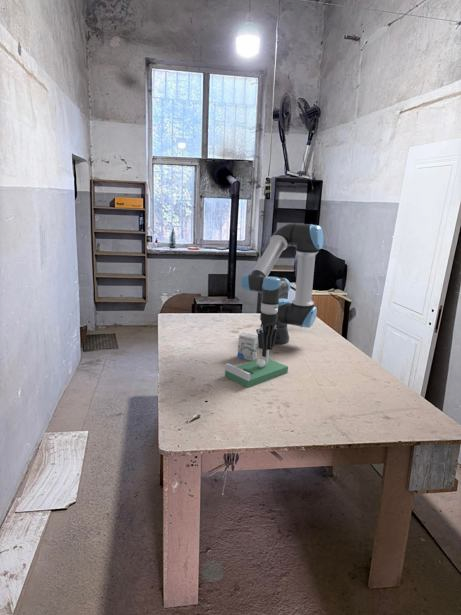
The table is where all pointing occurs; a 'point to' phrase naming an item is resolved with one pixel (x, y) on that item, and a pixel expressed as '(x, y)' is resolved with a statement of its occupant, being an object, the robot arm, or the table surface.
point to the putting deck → (254, 372)
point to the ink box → (247, 346)
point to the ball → (260, 363)
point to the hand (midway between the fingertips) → (265, 362)
